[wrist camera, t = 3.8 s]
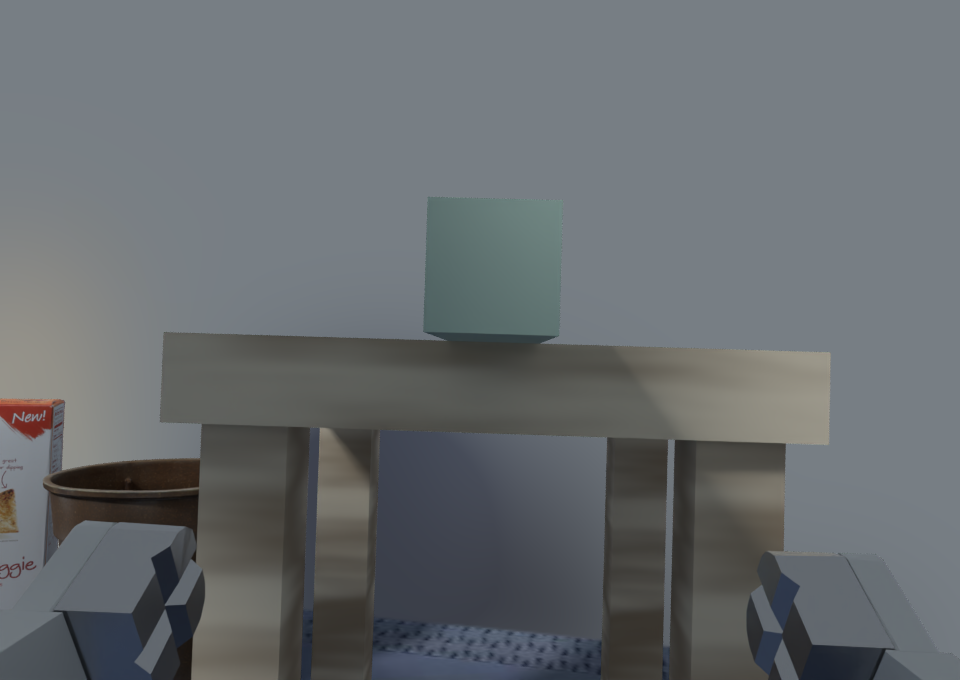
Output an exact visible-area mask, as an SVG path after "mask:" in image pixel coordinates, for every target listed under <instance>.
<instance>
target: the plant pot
mask: <svg viewBox="0 0 960 680" xmlns="http://www.w3.org/2000/svg"><path fill="white" fill-rule="evenodd" d="M199 478H200V458H185V459H184V458H182V459H152V460H135V461H122V462H111V463H103V464H95V465H88V466H82V467H77V468H72V469H67V470H63V471H59V472H55V473H52V474H49V475H48V476H46V477H44V479H43V487H44V488H45V489H46V490H47V491H49V492H50V501H51V511H52V524H53V534H54V536H55V537H56V538H57V539H59V546H60V545H61V544H62V542H63V541H64V540H65V538H66V537H67V536H68V534H69V533H70V532H71V530H72V529H73V528H74V527H75V526H76V525H78V524H80V523H82V522H83V521H85V520H86V521H100V522H114V523H119V522H126V523H141V524H155V525H170V526H185V527H188V528H190V529H193V533H194V537H195V540H196V544H197V527H198V502H199ZM196 551H197V548H196V550H195V552H194V554H193V556H192V558H191V559H192V560H193V561H194V562H195V563H196ZM192 649H193V637H191V638H190V639H189V640H187V641H186V642H185V643H183V644H182V645H181V646H180V647H178V648H177V652H178V656H179V660H180V666H179V668H178V670H177V672H176V674H175V676H174V678H173V680H191V674H192Z"/></svg>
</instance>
